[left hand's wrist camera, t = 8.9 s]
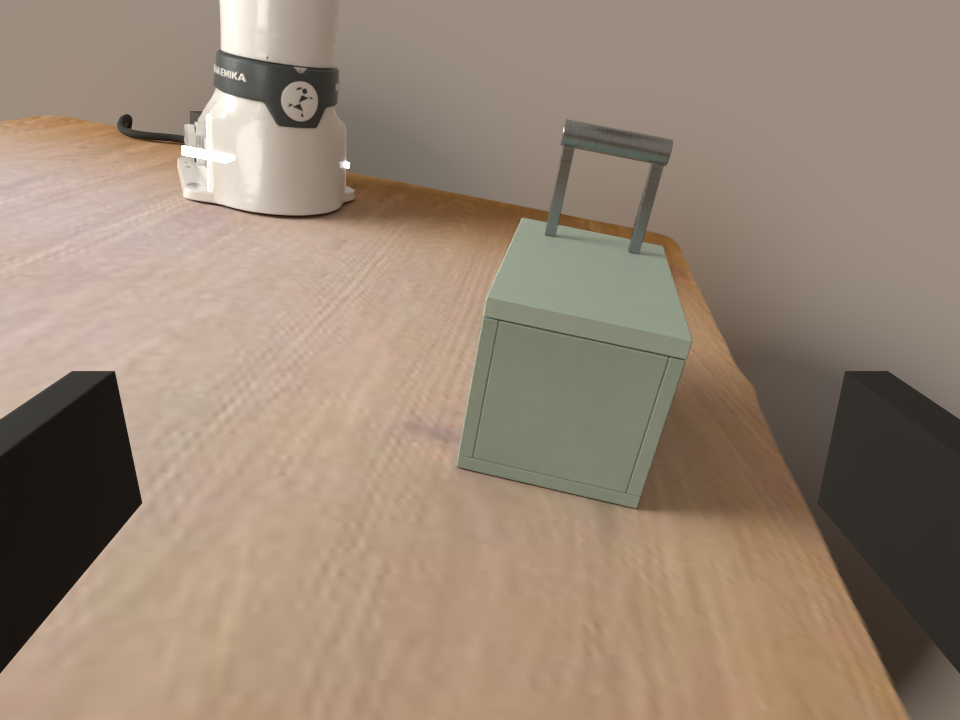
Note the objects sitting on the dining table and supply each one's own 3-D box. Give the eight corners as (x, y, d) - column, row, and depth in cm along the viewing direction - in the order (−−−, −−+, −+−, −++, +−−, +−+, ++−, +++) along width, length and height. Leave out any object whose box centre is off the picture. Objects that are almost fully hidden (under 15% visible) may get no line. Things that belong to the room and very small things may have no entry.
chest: (495, 350, 49) (517, 236, 45) (626, 379, 48) (659, 265, 45) (455, 467, 36) (482, 317, 32) (637, 509, 35) (686, 361, 31)
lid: (519, 231, 46) (542, 109, 43) (658, 260, 46) (694, 138, 42) (483, 316, 32) (514, 142, 28) (686, 360, 31) (744, 187, 28)
